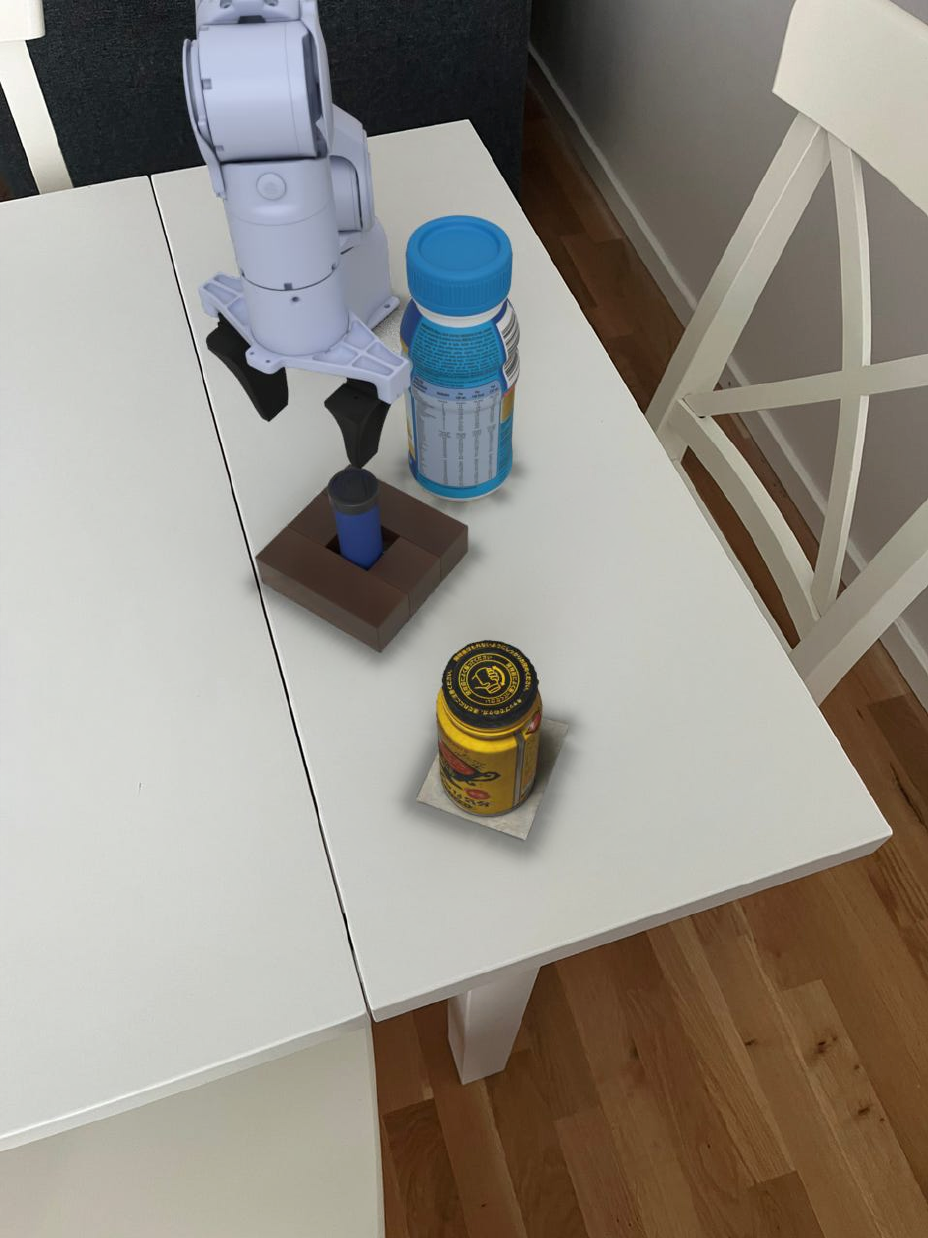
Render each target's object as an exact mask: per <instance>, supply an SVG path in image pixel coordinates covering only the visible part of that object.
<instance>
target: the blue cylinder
mask: <svg viewBox="0 0 928 1238" xmlns="http://www.w3.org/2000/svg"><path fill="white" fill-rule="evenodd" d="M327 485H328V487H327V491H328V497H329V501H330V504H331V505H332V507H333V508H334V514H335V520H336V526H337V532H338V538H339V544H340V550H341V556H342V557H343V558H345V559H346V560H348V561H350V562H352V563H354V564H355V565H357V566H359V567H361V568H362V569H364V570H366V571H368V570H369V569H370V568H371V567H372V566H373V565H374V564H375V563H376V562H377V561H378V560H379V559H380V557H381V556H382V555H383V554H384V551H383V544H382V535H381V526H380V517H379V508H378V501H379V498H380V490H379V482H378V480H377V477H376V475H375V474H374V473H373V472H372V471H370V470H368V469H366V468H362V469H358V468H347V469H345V468H343V469H341V470H339V471H337V472H336V473H334V474H333V475H332V476H331V478H329V481H328V483H327Z"/></svg>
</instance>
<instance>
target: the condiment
mask: <svg viewBox="0 0 928 1238" xmlns="http://www.w3.org/2000/svg"><path fill="white" fill-rule="evenodd" d="M539 684H540V680H539V679H538V672H537V671H536V668H535V666H534V664H532V662H531V660H530V658H529V657H528V656H526V654H524V652H523V651H522V650H521V649H519V648H518V647H516V646H514V645H512V644H509V643H506V642H504V641H502V640H501V641H500V640H492V639H484V640H480V641H474V642H471V643H468V644H466V645H465V646H463V647H462V648H461V649H459V650H458V651H456V652H455V653H453V655H452V656H451V657H450V658H449V659H448V661H447V664H446V665H445V668H444V669H443V672H442V677H441V687H440V689H439V691H438V693H437V698H436V712H435V716H436V728H437V731H436V732H437V747H438V751H437V753H436V756H435V757H434V760H433V762H432V764H431V767H430V768H429V771H428V773H427V775H426V777H425V780H424V781H423V784H422V786H421V788H420V791H419V792H418V795H417V796H416V798H415V800H416V801H418V802H421V803H423V804H426V805H429V806H431V807H433V808H436V809H439V810H442V811H444V812H447V813H450V814H452V815H454V816H456V817H457V816H458V817H459V818H463V819H465V820H467V821H471V822H474V823H477V824H479V825H482V826H484V827H487V828H490V829H493V830H496V831H499V832H502V833H505V834H508V835H511V836H513V837H515V838H518V839H521V840H523V841H526V840H527V837H528V834H529V832H530V830H531V827H532V824H533V821H534V820H535V817H536V814H537V811H538V808H539V806H540V803H541V801H542V798H543V795H544V792H545V790H546V788H547V785H548V782H549V780H550V777H551V774H552V772H553V769H554V766H555V764H556V761H557V759H558V756H559V754H560V751H561V748H562V745H563V742H564V740H565V737H566V734H567V732H568V730H569V727H570V726H569V724H566V723H562V722H560V721H555V720H552V719H549V718H545V717H543V711H544V710H543V699H542V696H541V695H542V694H541V692H540V690H539Z"/></svg>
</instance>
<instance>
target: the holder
mask: <svg viewBox="0 0 928 1238" xmlns="http://www.w3.org/2000/svg"><path fill="white" fill-rule="evenodd" d="M347 468H356V467H354V466H352V465H351V463H348V465H346V466H345V467H344V469H347ZM376 478H377V477H376ZM377 480H378V482H379V490H380V498H379V501H378V508H379V517H380V526H381V535H382V544H383V555H382V556H381V557H380V559H379V560H378V561H377V562H376V563H375V564H374V565H373V566H372V567H371V568H370V569H369V570H368V571H366V570H364V569H362V568H361V567H359V566H357V565H355V564H354V563H352V562H350V561H348V560H346V559H345V558H343V557H342V556H341V550H340V544H339V538H338V532H337V526H336V520H335V514H334V508H333V507H332V505H331V504H330V501H329V497H328V491H327V487H328V484H327V485H326V486H325V487H324V488H323V489H322V490H321V491H320V492H319V493H318V494H317V495H316V496H314V498H313V499H312V500H311V501H310V502H309V503H308V504H307V505H306V506H305V507H304V508H303V509H302V510H301V511H300V512H299V513H297V515H296V516H295V517H294V518H293V519H292V520H291V521H290V522H288V524H287V525H286V526H285V527H284V528H283V529H281V530H280V532H279V533H277V535H276V536H275V537H273V539H272V540H271V541H269V542H268V543H267V544H266V545H265V547H263V549H261V551H259V552H258V553H257V554H256V555H255V556H254V559H255V563H256V566H257V570H258V573H259V577H260V580H261V583H263V585H266V586H268V587H269V588H271V589H272V590H274V591H276V592H278V593H279V594H281V595H283V596H284V597H286V598H287V599H289V600H291V601H292V602H294V603H296V604H297V605H300V606H301V607H302V608H305V609H306V610H307V611H309V612H311V613H313V614H315V615H316V616H318V617H320V618H321V619H323V620H324V621H327V622H328V623H330V624H331V625H333V626H335V627H336V628H337V629H340V630H341V631H343V632H345V633H347V634H348V635H350V636H351V637H353V638H355V639H356V640H358V641H360V642H361V643H363V644H365V645H367V646H368V647H370V648H372V649H374V650H375V651H377V653H382V652H383V650H384V649H385V648H386V647H387V646H388V645H389V643H390V642H391V641H392V640H393V639H394V638H395V636H396V635H397V634H398V633H399V632H400V631H401V630H402V629H403V628H404V626H405V625H406V624H407V622H408V621H409V620H410V619H411V618H412V617H413V616H414V615H415V614H416V612H417V611H418V610H419V609H420V608H421V607H422V605H423V604H424V603H425V602H426V601H427V599H429V597H430V596H431V595H432V593H433V592H434V591H435V590H436V589H437V588H438V587H439V585H441V584H442V582H443V581H445V579H446V578H447V577H448V575H450V573H451V572H452V571H453V570H454V568H455V567H456V566H457V565H458V564H459V563H460V561H461V560H462V559H463V558H464V557H465V555H467V553H468V551H469V525H467V524H466V523H463V522H461V521H460V520H458V519H456V518H454V517H453V516H450V515H449V514H446V513H444V512H443V511H440V510H439V509H437V508H434V507H433V506H432V505H429V504H427V503H426V502H423V501H422V500H419V499H418V498H415V497H414V496H412V495H410V494H408V493H406V492H404V491H402V490H401V489H399V488H397V487H396V486H393V485H392V484H389V483H387V482H385V481H383V480H382V479H379V478H377Z"/></svg>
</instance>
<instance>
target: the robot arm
mask: <svg viewBox="0 0 928 1238" xmlns="http://www.w3.org/2000/svg"><path fill="white" fill-rule="evenodd" d="M194 2H195V3H194V4H195V27H196V39H192V41H191V40H190V39H189V38H185V39H184V40H183V43H182V44H183V45H182V77H183V86H184V92H185V100H186V104H187V110H188V115H189V119H190V124H191V128H192V130H193V133H194V136H195V140H196V142H197V145H198V148H199V151H200V153H201V156H202V159H203V161H204V162H205V164H206V166H207V170H208V173H209V176H210V180H211V185H212V188H213V193H214V195H215V197H216V198H220V199H221V200H222V203H223V208H224V212H225V216H226V221H227V225H228V229H229V234H230V239H231V243H232V249H233V252H234V257H235V263H236V265H237V272H238V275H239V277H236V276H233V275H230V274H227V273H225V272H222V271H217V272H216V273H215V274H213V275H212V276H211V277H209V278H208V279H207V280H206V281H205V282H203V283H202V284H201V285H200V286H198V287H197V291H198V294H199V299H200V301H201V306H202V309H203V313H204V314H205V315H208V316H210V317H211V318H214V319H218V322H217V323H216V325H217V327H216V328H214V329H213V330H212V331H210V333H208V334H207V336H206V338H205V343H206V347H207V350H208V351H209V352H210V353H212V354H213V355H214V356H215V357H217V358H218V359H219V361H221V362H222V363H223V364H224V365H225V367H226V368H227V369H228V370H229V371H230V372H231V373H232V375H233V376H234V377H235V378H236V381H238V383H239V384H240V386H241V387H242V388H243V390H244V392H245V393H246V396H247V397H248V398H249V400H250V402H251V403H252V406H253V407H254V409H255V410H256V412H257V414H258V415H259V416H260V418H261V419H262V420H264V421H266V422H268V423H270V422H271V421H272V420H273V419H275V418H276V417H277V416H278V415H279V414H280V413H281V412H282V411H284V409H285V408H287V407H288V406H289V398H290V397H289V393H290V392H289V384H288V383H289V382H288V376H287V369H286V368H291V369H297V370H302V371H307V372H313V373H319V374H325V375H331V376H336V377H341V378H342V377H343V378H345V379H346V381H345V382H343V383H342V384H341V385H340V386H339V387H337V389H335V390H334V391H333V392H332V393H331V394H330V395H329V396H328V397H327V398H326V399H324V401H323V407H324V408H325V409H326V410H328V412H329V413H330V414H331V415H332V417H333V418H334V419H335V421H336V423H337V426H338V427H339V431H340V432H341V436H342V438H343V443H344V447H345V454H346V458H347V459H348V461H349V464H351V465H352V466H354V467H356V468H358V469H363V468H364V467H365V466H366V465H367V464H368V463H369V462H370V461H371V460H372V459H373V458H374V456H376V454H378V452H379V447H380V443H381V437H382V431H383V428H384V426H385V422H386V419H387V416H388V413H389V411H390V408H391V407H392V405H393V404H394V403H395V401H397V400H398V399H399V398H400V397H401V396H402V395H403V394H405V393H404V392H405V391H406V390H407V389H408V388H409V387H410V385H411V381H410V365H409V360H407V359H405V358H403V357H402V356H400V355H401V354H398V353H396V352H395V351H394V350H392V349H391V348H390V347H389V346H388V345H386V343H385V342H383V341H382V339H380V338H379V336H378V335H376V334H375V332H373V331H372V330H373V329H374V328H375V327H377V326H378V324H379V323H381V322H382V321H383V320H384V319H385V318H386V317H388V315H390V314H391V313H392V312H393V311H394V310H395V309H396V308H398V307H399V306H400V299H399V298H398V297H396V296H394V295H392V283H391V282H392V281H391V269H390V255H389V243H388V238H387V235H386V231H385V229H384V227H383V225H382V223H381V221H380V220H379V218H378V217H377V216H376V212H375V202H374V201H375V197H374V187H373V186H374V185H373V175H372V163H371V162H372V161H371V153H370V151H369V147H368V146H369V145H368V134H367V131H366V130H365V129H364V128H363V123H362V122H360V121H359V120H358V119H357V118H356V117H354V116H352V115H351V114H350V113H348V112H347V111H345V110H343V109H342V108H341V107H339V106H337V105H336V104H335V103H333V97H332V87H331V86H332V85H331V77H330V68H329V60H328V51H327V47H326V42H325V38H324V36H323V32H322V28H321V25H320V18H319V8H318V7H319V6H318V0H194Z"/></svg>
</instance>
